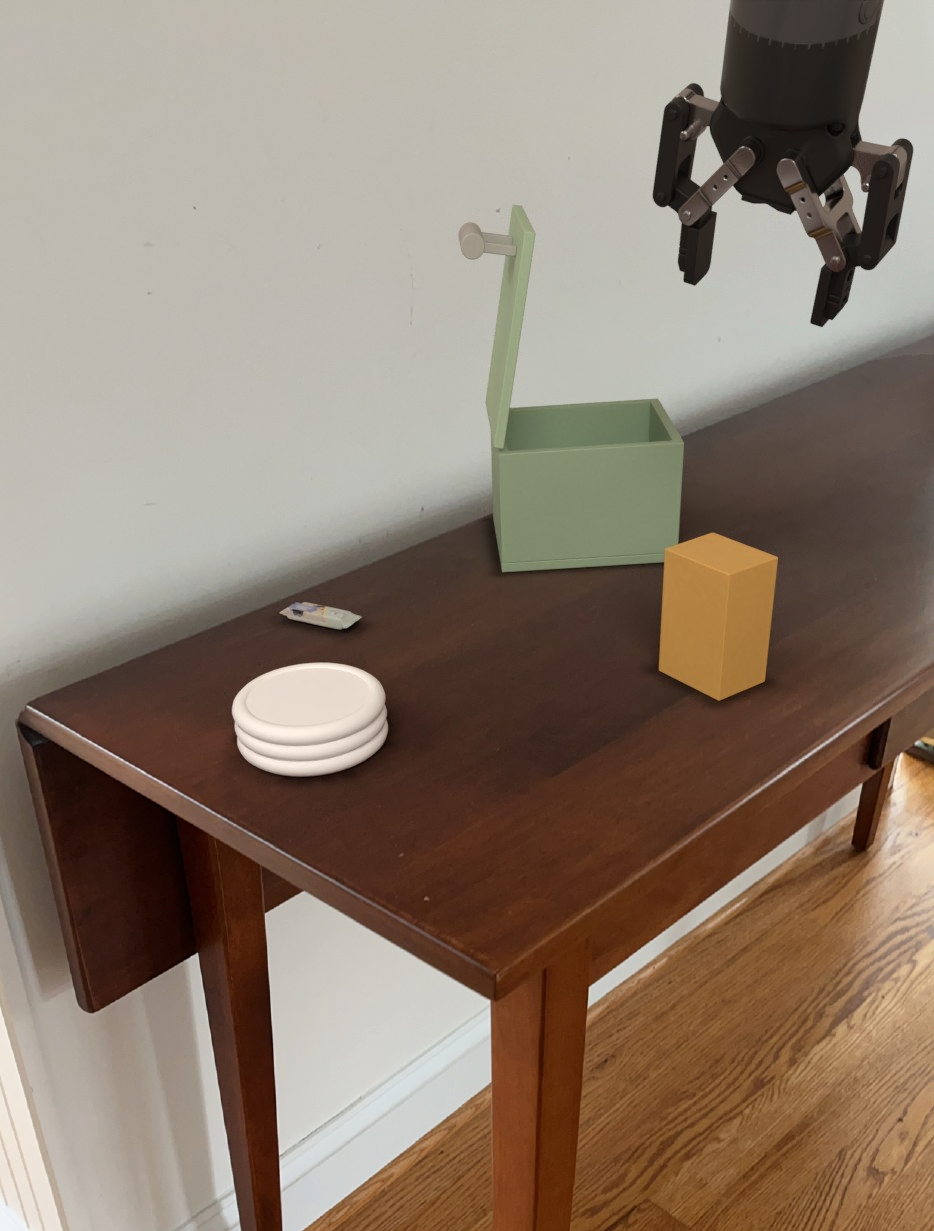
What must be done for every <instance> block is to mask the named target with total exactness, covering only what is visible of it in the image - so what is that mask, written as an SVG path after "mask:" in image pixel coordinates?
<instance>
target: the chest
mask: <svg viewBox="0 0 934 1231" xmlns="http://www.w3.org/2000/svg"><path fill="white" fill-rule="evenodd" d="M683 440H684V439H683V438H682V437H681V435H680V434H679V432H678V430H677V428H676V426H675V425H674V423H673V421H672V419H671V418H670V416H669V415H668V412H667V411H666V409H665V408H664V406H663V404H662V402H661V400H659V398H645V399H642V398H641V399H630V400H629V399H628V400H613V401H612V400H611V401H597V402H581V403H565V404H564V403H563V404H550V405H549V404H547V405H536V406H519V407H517V406H516V407H510V410H509V417H508V423H507V430H506V437H505V444H504V448H503V449H501V448H494V445H493V440H492V435H491V434H490V454H491V457H490V458H491V459H490V460H491V486H492V487H491V488H492V489H491V491H492V519H493V525H494V531H495V537H496V538H495V539H496V542H497V550H498V555H499V562H500V568H501V572H502V573H514V572H530V571H549V570H563V569H579V568H580V569H581V568H594V567H595V568H597V567H609V566H610V567H611V566H627V565H643V564H657V563H658V564H661V563H664V559H665V549H666V548H669V547H671V546H674V545H677V544H679V539H680V538H679V537H680V524H681V505H682V502H681V501H682V489H683V488H682V487H683V474H684V473H683V472H684V453H685V442H684V441H683Z"/></svg>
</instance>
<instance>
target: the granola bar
mask: <svg viewBox="0 0 934 1231" xmlns="http://www.w3.org/2000/svg"><path fill="white" fill-rule="evenodd" d="M279 614H281V615H283V616H286V617H287V619H288V620H289V619H290V620H292V621H297V622H302V623H307V624H311V625H316V626H320V627H325V628H329V629H333V630H343V629H347V628H348V629H349V627H351V626H352V625H354V623H356V622H358V621H359V620H360V619H362V616H361V615H359V614H355V613H353V612H352V611H349V610H346V609H341V608H336V607H332V606H331V607H330V606H327V605H322V604H317V603H311V602H306V601H301V600H296V601H295V602H293V603H292V604H290V605H289V606H287V607H285V608H284V609H282V610H281V611H279Z"/></svg>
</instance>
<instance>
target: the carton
mask: <svg viewBox="0 0 934 1231" xmlns="http://www.w3.org/2000/svg"><path fill="white" fill-rule="evenodd" d="M778 563H779V556H776V555H773V554H771V553H768V552H766V551H763V550H760V549H758V548H756V547H752V546H750V545H747V544H745V543H743V542H740V541H737V540H734V539H731V538H729V537H727V536H724V535H721V534H718V533H716V532H710V533H707V534H704V535H701V536H698V537H695V538H692V539H689V540H687V541H683V542H681V543H678V544H677V545H674V546H671V547H669V548H666V549H665V559H664V562H663V581H662V597H661V598H662V600H661V602H662V603H661V618H660V637H659V638H660V639H659V655H658V656H659V657H658V672H661V673H663V674H665V675H667V676H669V677H671V678H672V679H674V680H677V681H679V682H680V683H682V684H684V685H686V686H689V687H691V688H692V689H695V690H697V691H698V692H700V693H702V694H704V695H706V696H708V697H710V698H712V699H714V700H716V701H718V702H720V701H722V700H725V699H727V698H729V697H732V696H734V695H737V694H739V693H741V692H743V691H746V690H748V689H750V688H754V687H755V686H758V685H760V684H763V683H765V681H766V675H767V664H768V655H769V648H770V637H771V629H772V621H773V620H772V619H773V611H774V610H773V609H774V601H775V592H776V582H777V574H778V573H777V572H778Z"/></svg>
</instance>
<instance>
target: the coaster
mask: <svg viewBox="0 0 934 1231" xmlns="http://www.w3.org/2000/svg"><path fill="white" fill-rule="evenodd" d="M386 697H387V696H386V692H385V689H384V687H383V685H382V684H381V682H380V681H379V680H378V678H377V677H375V676H374V675H372V674H371V673H369V672H367V671H366V670H363V669H361V668H358V667H356V666H351V665H348V664H343V663H337V662H308V663H307V662H306V663H298V664H292V665H288V666H284V667H280V668H276V669H273V670H271V671H268V672H265V673H263V674H261V675H259V676H257V677H256V678H254V679H252V680H251V681H249V682H248V683H247V684H245V685H244V686H243V687H242V688H241V689H240V690H239V691H238V693H237V694H236V695H235V697H234V699H233V702H232V706H231V715H232V719H233V721H234V732H235V734H236V736H237V737H236V744H237V748H238V751H239V752H240V754H241V755H242V758H244V759H245V760H246V761H247V762H248V763H249V764H251V765H252V766H254V767H256V768H257V769H260V770H262V771H265V772H268V773H270V774H274V775H279V776H286V777H296V778H297V777H298V778H303V777H306V778H307V777H318V776H325V775H331V774H334V773H338V772H342V771H345V770H348V769H350V768H353V767H355V766H357V765H359V764H361V763H364V762H365V761H367V760H368V759H369V758H371V757H372V756H373V755H375V754H376V753H377V752H378V751H379V750H380V749H381V748H382V747H383V746H384V744H385V742H386V740H387V736H388V733H389V724H388V720H387V717H388V709H387V706H386V704H385V703H386Z"/></svg>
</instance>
